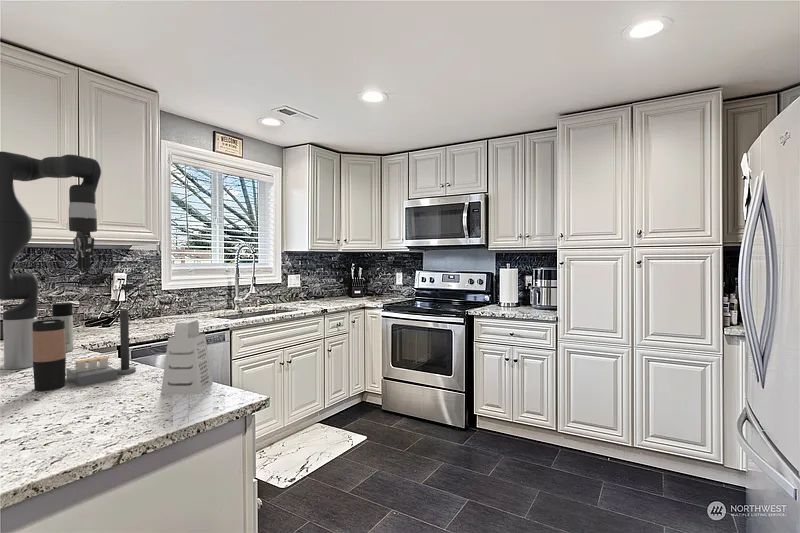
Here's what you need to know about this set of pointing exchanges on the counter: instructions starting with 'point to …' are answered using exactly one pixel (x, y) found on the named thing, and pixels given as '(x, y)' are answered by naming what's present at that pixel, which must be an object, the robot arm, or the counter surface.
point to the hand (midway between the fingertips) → (84, 268)
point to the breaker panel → (91, 375)
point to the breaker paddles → (91, 363)
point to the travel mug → (49, 354)
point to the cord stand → (124, 344)
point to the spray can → (65, 313)
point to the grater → (186, 360)
